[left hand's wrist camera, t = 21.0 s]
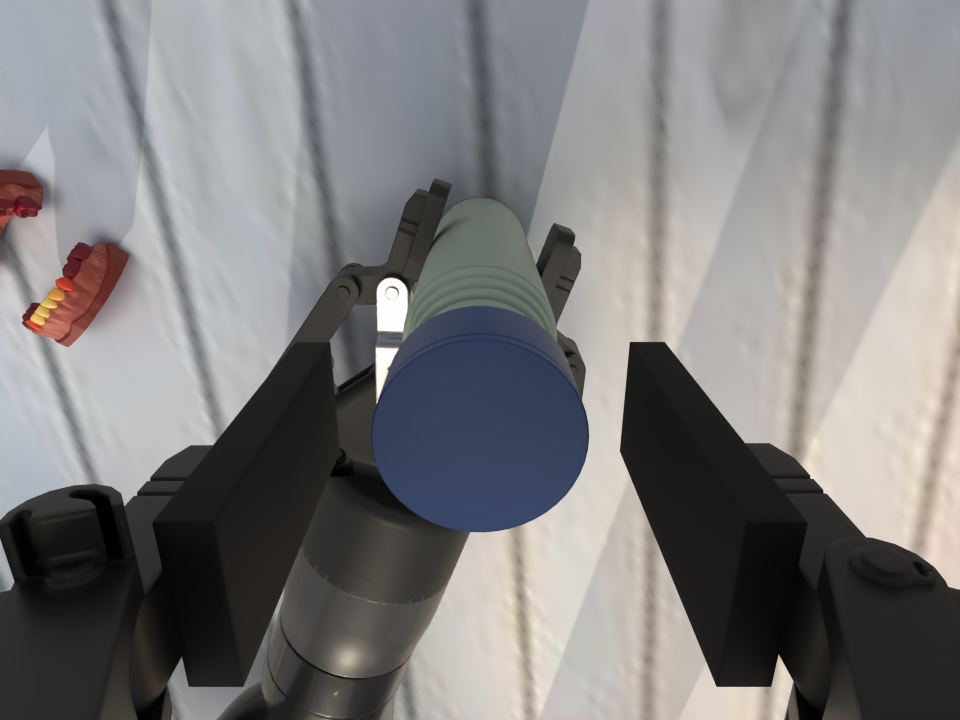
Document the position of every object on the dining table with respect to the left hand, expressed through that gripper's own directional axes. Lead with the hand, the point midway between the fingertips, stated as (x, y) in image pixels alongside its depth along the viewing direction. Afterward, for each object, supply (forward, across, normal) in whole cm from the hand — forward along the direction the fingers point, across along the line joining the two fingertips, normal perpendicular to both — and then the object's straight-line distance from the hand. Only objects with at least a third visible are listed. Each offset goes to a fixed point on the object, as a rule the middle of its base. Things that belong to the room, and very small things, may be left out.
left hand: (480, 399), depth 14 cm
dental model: (+18, +21, +1) cm, 28 cm away
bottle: (+18, 0, 0) cm, 18 cm away
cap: (-2, 0, 0) cm, 2 cm away
